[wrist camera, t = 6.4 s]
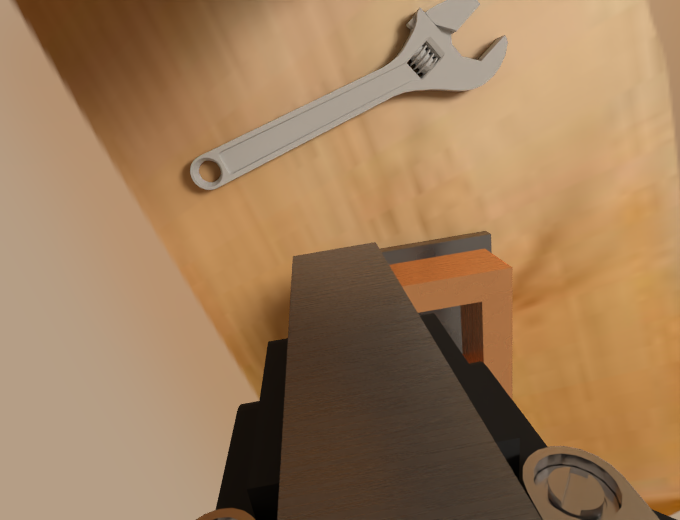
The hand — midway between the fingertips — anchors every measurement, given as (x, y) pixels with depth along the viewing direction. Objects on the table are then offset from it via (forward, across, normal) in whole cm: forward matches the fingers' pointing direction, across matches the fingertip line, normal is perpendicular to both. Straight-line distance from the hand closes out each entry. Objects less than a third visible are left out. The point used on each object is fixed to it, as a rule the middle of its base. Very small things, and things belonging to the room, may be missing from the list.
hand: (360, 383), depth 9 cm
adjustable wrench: (+25, -3, -7) cm, 26 cm away
